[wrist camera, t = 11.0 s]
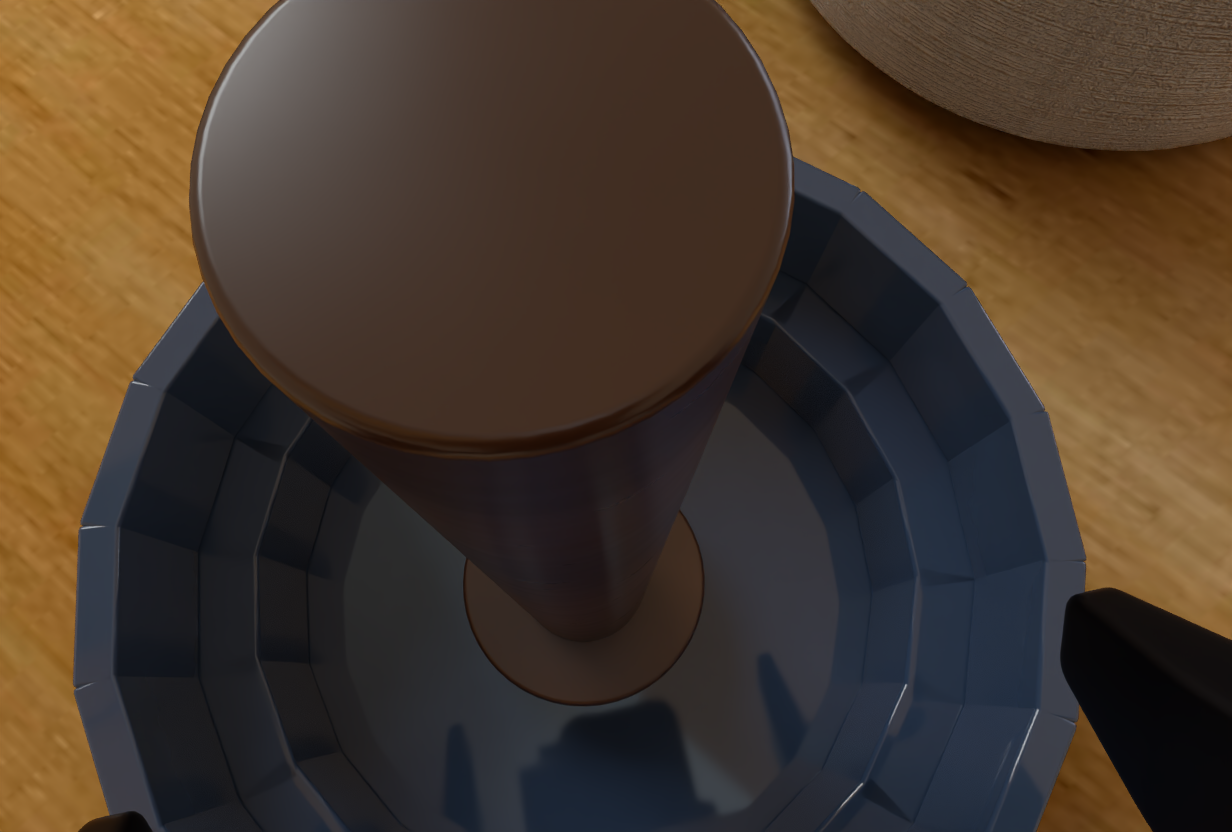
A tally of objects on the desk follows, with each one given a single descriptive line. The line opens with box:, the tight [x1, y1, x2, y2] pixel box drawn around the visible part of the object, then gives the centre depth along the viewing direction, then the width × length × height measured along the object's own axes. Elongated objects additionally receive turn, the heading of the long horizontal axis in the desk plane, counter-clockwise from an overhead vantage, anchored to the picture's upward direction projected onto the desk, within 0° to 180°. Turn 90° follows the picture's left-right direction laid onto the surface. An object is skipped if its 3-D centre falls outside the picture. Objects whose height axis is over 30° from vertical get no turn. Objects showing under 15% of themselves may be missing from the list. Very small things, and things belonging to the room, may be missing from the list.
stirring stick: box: [189, 0, 794, 707], centre depth 11 cm, size 4×4×16 cm
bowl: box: [73, 157, 1086, 832], centre depth 16 cm, size 14×14×6 cm
